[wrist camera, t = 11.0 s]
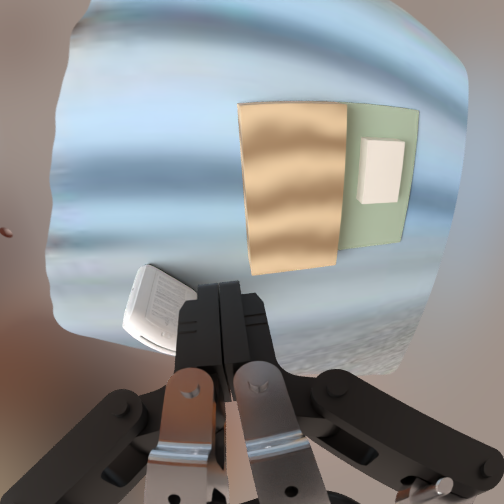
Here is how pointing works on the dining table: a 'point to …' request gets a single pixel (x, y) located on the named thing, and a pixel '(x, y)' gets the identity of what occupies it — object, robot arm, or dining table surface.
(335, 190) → the board
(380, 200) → the cream tile
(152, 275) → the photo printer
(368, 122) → the sage mat
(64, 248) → the dining table surface
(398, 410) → the robot arm
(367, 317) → the dining table surface
